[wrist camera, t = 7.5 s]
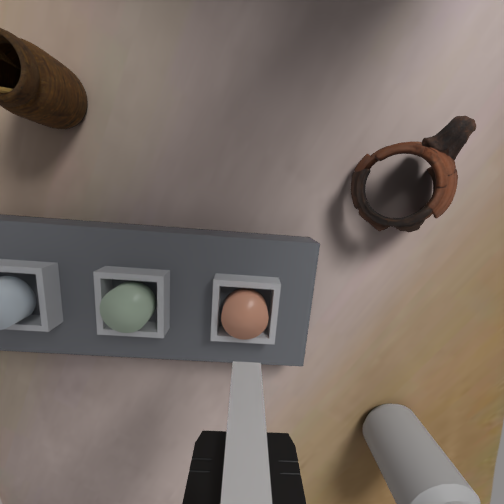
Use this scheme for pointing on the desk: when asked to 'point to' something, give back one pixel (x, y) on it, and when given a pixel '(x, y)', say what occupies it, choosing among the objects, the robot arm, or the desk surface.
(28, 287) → the pale blue button
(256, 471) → the robot arm
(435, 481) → the can
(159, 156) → the desk surface
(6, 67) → the utensil holder
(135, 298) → the sage button
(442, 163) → the dark brown curved piece
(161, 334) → the console
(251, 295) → the terracotta button
